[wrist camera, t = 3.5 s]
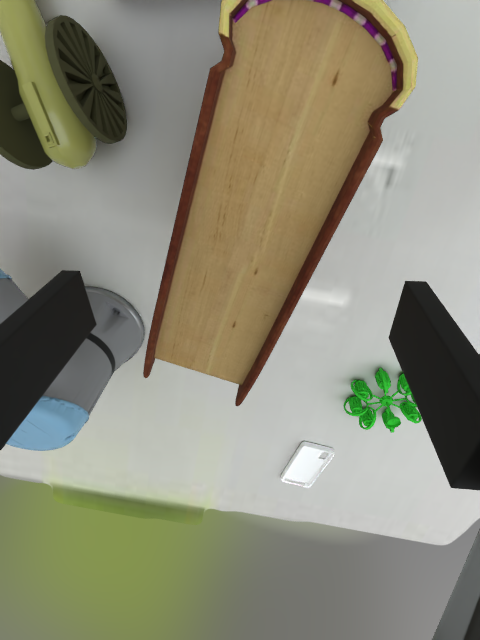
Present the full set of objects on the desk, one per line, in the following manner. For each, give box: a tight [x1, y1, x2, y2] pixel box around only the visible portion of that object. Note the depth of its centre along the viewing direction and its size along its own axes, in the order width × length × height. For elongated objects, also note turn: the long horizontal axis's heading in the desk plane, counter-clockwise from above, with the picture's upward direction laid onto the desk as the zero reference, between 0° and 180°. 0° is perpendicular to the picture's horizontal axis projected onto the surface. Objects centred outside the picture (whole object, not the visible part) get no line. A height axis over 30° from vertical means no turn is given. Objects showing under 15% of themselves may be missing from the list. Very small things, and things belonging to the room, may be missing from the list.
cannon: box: [0, 0, 127, 170], centre depth 33 cm, size 25×12×11 cm, turn 16°
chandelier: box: [344, 368, 422, 433], centre depth 60 cm, size 15×15×7 cm
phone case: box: [281, 441, 334, 488], centre depth 77 cm, size 7×1×15 cm
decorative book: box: [143, 0, 418, 406], centre depth 30 cm, size 22×8×30 cm, turn 161°
